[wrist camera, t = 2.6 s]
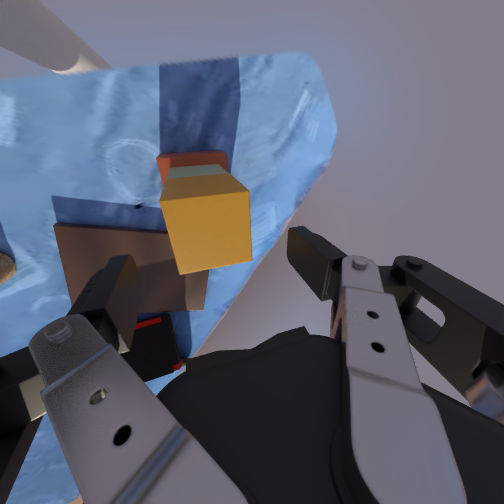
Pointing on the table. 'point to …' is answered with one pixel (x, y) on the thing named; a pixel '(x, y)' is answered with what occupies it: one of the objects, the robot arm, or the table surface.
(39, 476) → the table surface
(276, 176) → the table surface
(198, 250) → the top block
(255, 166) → the table surface
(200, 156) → the base block
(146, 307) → the board
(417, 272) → the robot arm
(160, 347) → the handheld gaming console
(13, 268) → the spice jar
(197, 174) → the middle block
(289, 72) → the table surface
